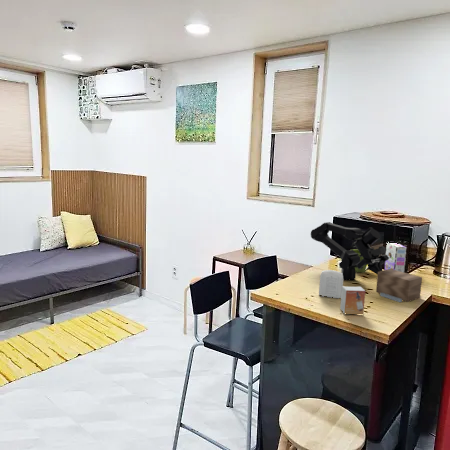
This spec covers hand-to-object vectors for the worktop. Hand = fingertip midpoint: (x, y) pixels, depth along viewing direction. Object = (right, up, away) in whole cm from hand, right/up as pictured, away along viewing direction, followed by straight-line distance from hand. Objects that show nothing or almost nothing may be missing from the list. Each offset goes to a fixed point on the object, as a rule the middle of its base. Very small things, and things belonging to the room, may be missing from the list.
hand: (382, 276), depth 187 cm
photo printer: (-28, -8, -10) cm, 31 cm away
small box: (-24, -11, -28) cm, 39 cm away
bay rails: (+5, -8, -6) cm, 11 cm away
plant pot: (0, -1, +33) cm, 33 cm away
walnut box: (+5, -8, -6) cm, 11 cm away
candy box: (+19, -2, +31) cm, 36 cm away
